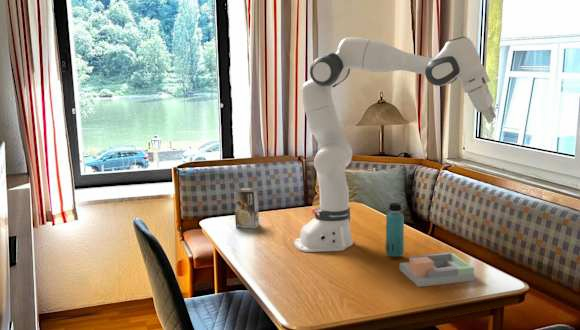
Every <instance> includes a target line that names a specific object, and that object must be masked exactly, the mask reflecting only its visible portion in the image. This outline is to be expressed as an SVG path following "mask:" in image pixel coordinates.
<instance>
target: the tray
mask: <svg viewBox="0 0 580 330" xmlns="http://www.w3.org/2000/svg"><path fill="white" fill-rule="evenodd" d="M419 257H428V258H429V259H431V260H432V261H433V262H434V270H430V271H427V276H424V277H415V276H414V275H413V274H412V273H410V272H409V271H410V258H419ZM408 260H409V261H407V262H406V261H405V262H400V263H399V271H400V272H401V273H403V275H405V276H406V277H407V278H408V279H409V280H410V281H412V282H413V283H414V284H415V285H416V286H417V287H419V288H420V287H428V286H430V287H431V286H438V285H439V286H440V285H447V284H456V283H462V282H463V283H464V282H473V281H474V279H475V278H474V277H475V267H474V266H473V265H471V264H470V263H468V262H467V261H465V260H464V259H462V258H460V257H459V256H458V255H457V254H455V253H454V252H442V253H441V252H439V253H431V254H430V253H429V254H421V255H412V256H409V258H408Z"/></svg>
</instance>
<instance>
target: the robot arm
mask: <svg viewBox="0 0 580 330" xmlns="http://www.w3.org/2000/svg"><path fill="white" fill-rule="evenodd" d="M351 69H357V70H362V71H365V72H369V73H370V72H371V73H388V72H395V71H397V72H398V71H405V72H410V73H415V74H418V75H419V74H420V75H423V76H425V78H426V80H427V81H428V83H429V84H431V85H433V86H437V87H442V86H446V85H449V84H452V83H454V82H455V81H456V80H459V83H460V85H461V87H462V89H463V92H464V93H465V94H467V96H468V98H469V100H470V101H471V103H472V105H473V107H474V108H475V110H476V112H477V113H482V115H483V117H484V118H485V120H486V121H487V124H488V123H489V124H490V123H492V122H493V121H494V119H495V118H496V116H497V115H496V113H495V110H494V107H493V104H494V98H493V96H492V93H491V91H490V89H489V85H488V83H490V82H491V79H490V77H489V75H488V73H487V71H486V69H485V66H484V65H483V64H482V63H481V60H480V55H479V52H478V50H477V48H476V46H475V44H474V43H473V41H472V40H471V39H470V38H469V37H466V36H460V37H456V38H453V39H449V40H447V41H446V42H445V44H444V46H443V47H442V49H441V50H440V51H439V52H438V54H436V56H435V57H429V56H424V55H421V54H420V55H419V54H415V53H411V52H410V53H409V52H406V51H404V50H401V49H399V48H396V47H394V46H392V45H390V44H388V43H385V42H383V41H379V40H377V39H376V40H375V39H371V38H365V37H356V36H347V37H344V38H343V39H342V40H341V41H340V42H339V44H338V46H337V50H336V52H335V53H334V52H331V53H328V54H325V55H321V56H319V57H318V58H316V59H314V61H313V62H312V63H311V65H310V68H309V73H310V79H308V80H307V81H305V82H304V83H303V85H302V86H301V100H302V105H303V109H304V112H305V116H306V120H307V123H308V126H309V130H310V133H311V134H312V135H313V137H314V138H315V140H316V142H317V144H318V146H319V150H318V151H317V152H316V154H315V157H314V159H313V167H314V169H315V171H316V172H315V173H316V177H317V183H318V189H319V191H318V192H319V207H318V208H316V207H312V208H311V210H310V211H311V212H312V214H314V218H312V219H311V220H309V222H307V223H306V224H305V225H303V226H302V228H301V231H300V235H299V237H298V238H295V239H294V243H293V244H294V246H295V248H296V249H297V250H299V251H300V252H301V251H302V252H304V253H314V252H315V253H318V252H320V253H321V252H342V251H345V250H346V249H347V248H349V247H352V245H353V244H354V240H353V237H352V234H351V227H350V226H351V225H350V222H351V208H350V207H349V206H350V204H349V203H350V201H349V200H350V197H349V193H350V191H349V189H350V188H349V185H348V182H347V175H346V167H348V166H349V165H350V164H351V162H352V159H353V149H352V146H350V144H349V141H348V140H347V138H346V135H345V133H344V131H343V129H342V127H341V123H340V121H339V118H338V115H337V111H336V107H335V104H334V103H335V102H334V100H333V98H332V89H333V88H335V87H336V86H338V85H340V84H341V83H342V82H344V81H345V80H346V79H347V78H348V77H349V75H350V72H351Z"/></svg>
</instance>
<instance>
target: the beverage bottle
mask: <svg viewBox="0 0 580 330" xmlns="http://www.w3.org/2000/svg"><path fill="white" fill-rule="evenodd" d="M389 211H390V212H388V213H387V214H386V216H385V217H386V218H385V220H386V222H385V224H386V225H385V231H386V232H385V233H386V235H385V253H386V255H388V257H402V256H403V255H404V251H405V246H404V245H405V242H404V241H405V238H404V235H405V234H404V233H405V232H404V228H405V226H404V225H405V224H404V223H405V219H404V218H405V215H404V214H403V213H402V212H401V211H402V205H401V203H399V202H391V203H389Z"/></svg>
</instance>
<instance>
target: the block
mask: <svg viewBox="0 0 580 330" xmlns="http://www.w3.org/2000/svg"><path fill="white" fill-rule="evenodd" d="M430 270H434V262H433V261H432V260H431V259H429V258H428V257H419V258H410V271H409V272H410V273H412V274H413V275H414V276H415V277H424V276H427V271H430Z"/></svg>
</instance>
